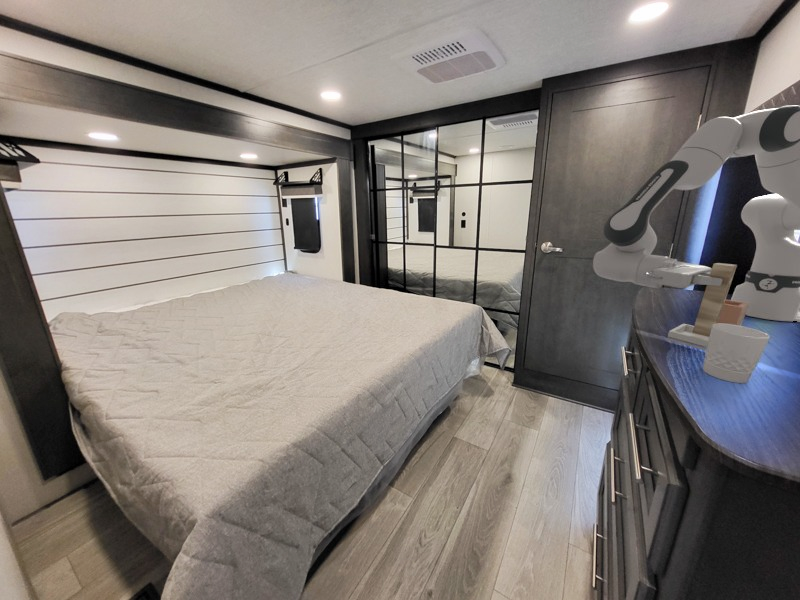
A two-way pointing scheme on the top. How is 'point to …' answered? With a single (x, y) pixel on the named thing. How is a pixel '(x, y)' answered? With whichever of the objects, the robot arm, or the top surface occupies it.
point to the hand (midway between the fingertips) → (725, 281)
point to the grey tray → (688, 337)
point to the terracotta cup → (733, 312)
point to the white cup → (733, 352)
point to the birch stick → (714, 299)
